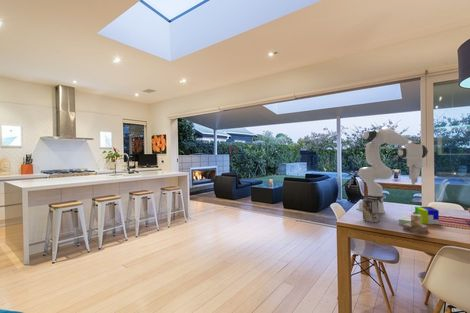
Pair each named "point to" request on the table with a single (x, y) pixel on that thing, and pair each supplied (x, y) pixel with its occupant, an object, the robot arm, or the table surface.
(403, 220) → the sage block
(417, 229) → the walnut block
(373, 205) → the coffee box
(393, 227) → the table surface
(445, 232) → the table surface
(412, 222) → the oak block
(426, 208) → the puzzle toy
